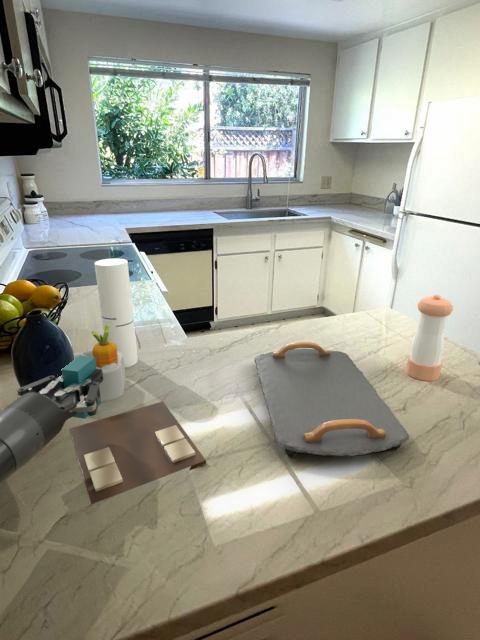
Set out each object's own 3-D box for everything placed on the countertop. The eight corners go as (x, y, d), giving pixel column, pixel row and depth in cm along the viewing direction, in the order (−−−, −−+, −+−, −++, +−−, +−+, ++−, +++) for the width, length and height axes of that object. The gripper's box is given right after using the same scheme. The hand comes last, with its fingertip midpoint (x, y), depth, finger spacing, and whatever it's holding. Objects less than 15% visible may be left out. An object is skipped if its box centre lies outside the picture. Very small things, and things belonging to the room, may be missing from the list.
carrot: (102, 401, 82) (92, 334, 77) (95, 390, 86) (85, 326, 81) (125, 393, 85) (118, 328, 80) (117, 383, 89) (110, 320, 83)
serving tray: (251, 360, 100) (251, 337, 97) (342, 356, 102) (344, 334, 99) (280, 472, 64) (282, 440, 62) (419, 462, 66) (426, 431, 64)
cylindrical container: (113, 354, 103) (101, 258, 94) (141, 355, 102) (131, 258, 93) (103, 368, 96) (89, 265, 87) (133, 368, 96) (121, 266, 87)
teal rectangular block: (69, 416, 67) (60, 369, 64) (86, 400, 72) (79, 355, 69) (85, 419, 67) (77, 371, 63) (101, 402, 71) (95, 357, 68)
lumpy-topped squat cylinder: (122, 402, 82) (118, 365, 79) (55, 408, 80) (48, 370, 77) (127, 377, 92) (123, 343, 89) (67, 382, 90) (61, 347, 87)
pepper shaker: (400, 373, 94) (413, 295, 87) (413, 362, 99) (426, 288, 92) (432, 384, 89) (448, 302, 82) (444, 373, 94) (460, 295, 87)
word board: (92, 508, 57) (90, 500, 57) (69, 432, 73) (68, 425, 73) (206, 463, 66) (206, 457, 65) (163, 404, 82) (162, 398, 81)
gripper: (59, 417, 51) (125, 357, 67) (-32, 402, 54) (52, 348, 70) (68, 463, 54) (130, 396, 70) (-19, 446, 57) (59, 385, 73)
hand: (91, 372), depth 70 cm, fingers closed on teal rectangular block, 3 cm apart
